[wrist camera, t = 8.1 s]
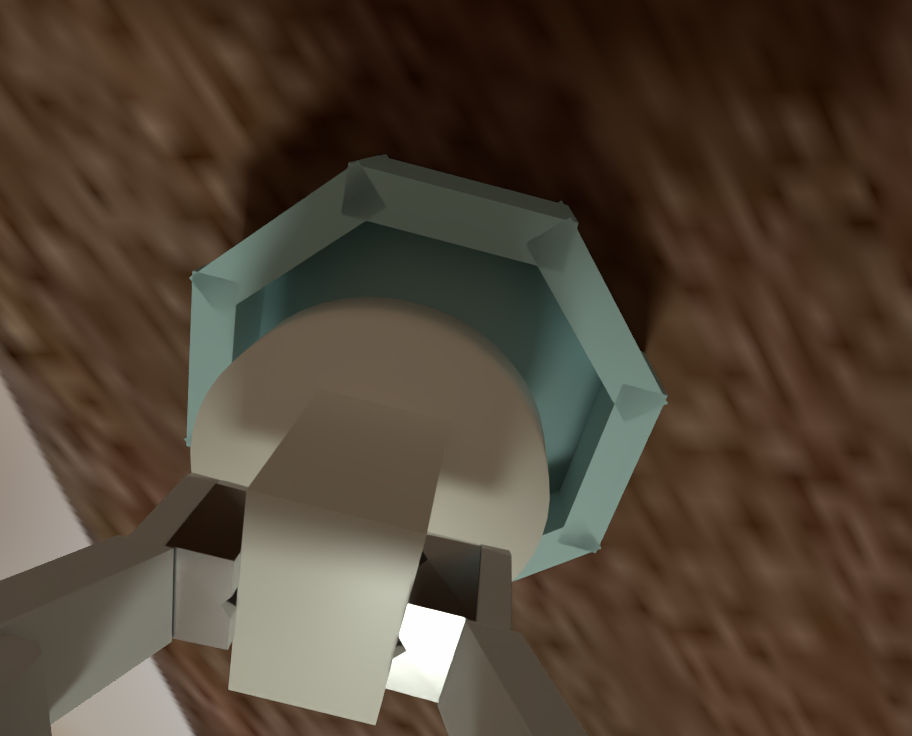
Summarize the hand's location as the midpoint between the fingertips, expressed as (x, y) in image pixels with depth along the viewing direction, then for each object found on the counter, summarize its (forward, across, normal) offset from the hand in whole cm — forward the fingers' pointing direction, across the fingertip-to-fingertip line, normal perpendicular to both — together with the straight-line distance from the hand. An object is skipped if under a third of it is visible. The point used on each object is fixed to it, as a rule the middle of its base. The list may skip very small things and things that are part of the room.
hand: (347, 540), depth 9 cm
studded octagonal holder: (+6, 0, 0) cm, 7 cm away
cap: (+3, 0, 0) cm, 3 cm away
